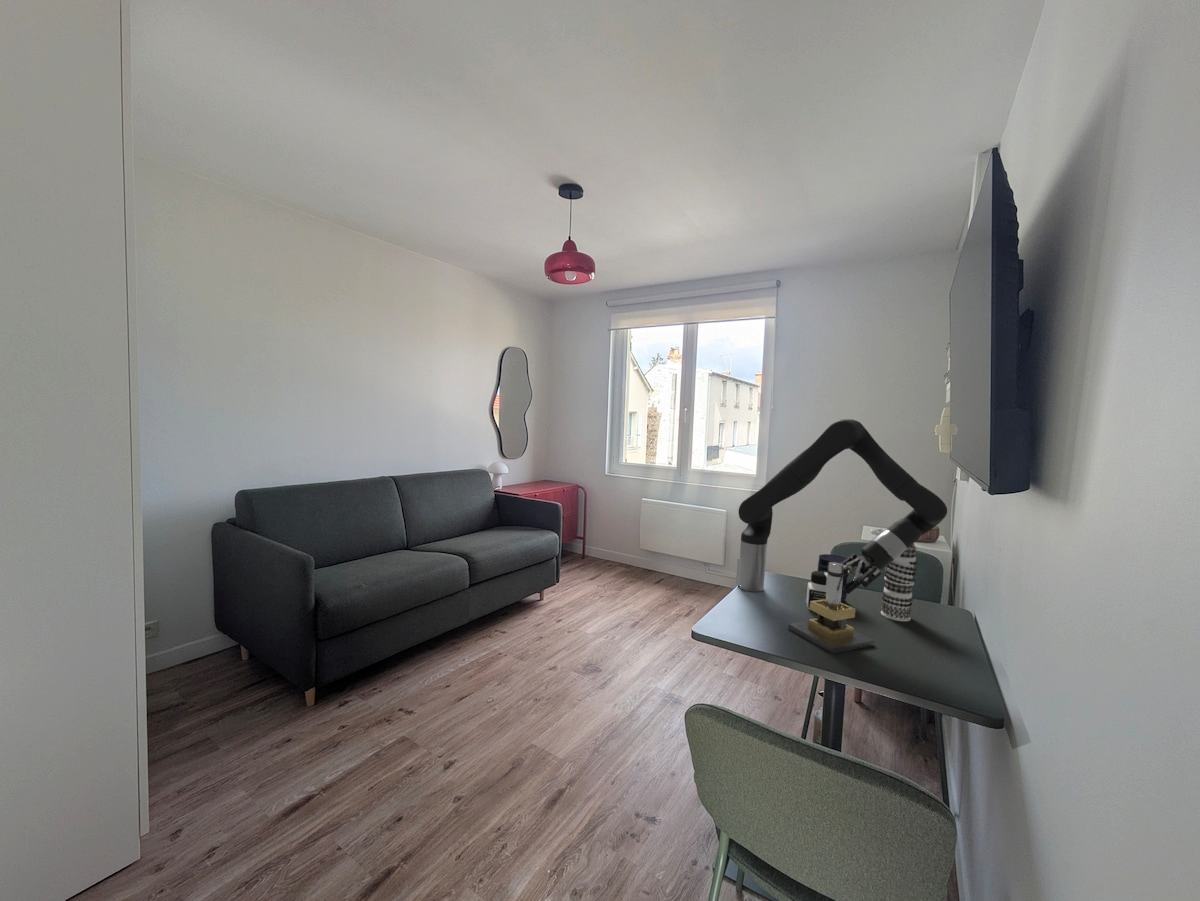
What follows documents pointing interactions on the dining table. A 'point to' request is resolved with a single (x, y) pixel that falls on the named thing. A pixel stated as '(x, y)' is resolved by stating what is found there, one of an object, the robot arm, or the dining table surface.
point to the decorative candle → (899, 586)
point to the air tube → (833, 591)
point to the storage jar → (823, 567)
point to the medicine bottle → (817, 587)
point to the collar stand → (828, 637)
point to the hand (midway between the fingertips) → (838, 585)
